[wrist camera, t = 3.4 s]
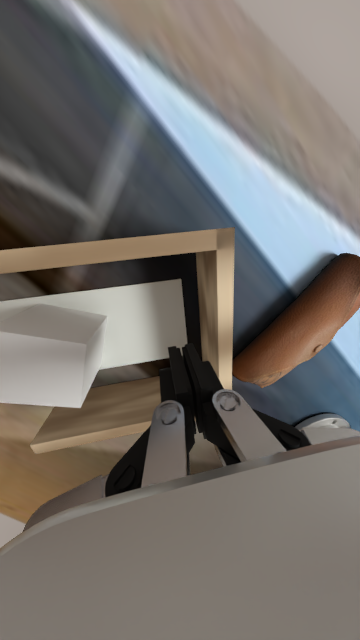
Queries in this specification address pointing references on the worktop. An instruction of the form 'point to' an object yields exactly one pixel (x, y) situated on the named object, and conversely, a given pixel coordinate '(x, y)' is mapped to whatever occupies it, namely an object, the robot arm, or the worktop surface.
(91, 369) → the white cube
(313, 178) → the worktop surface
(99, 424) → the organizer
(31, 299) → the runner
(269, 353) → the sunglasses case
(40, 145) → the worktop surface
